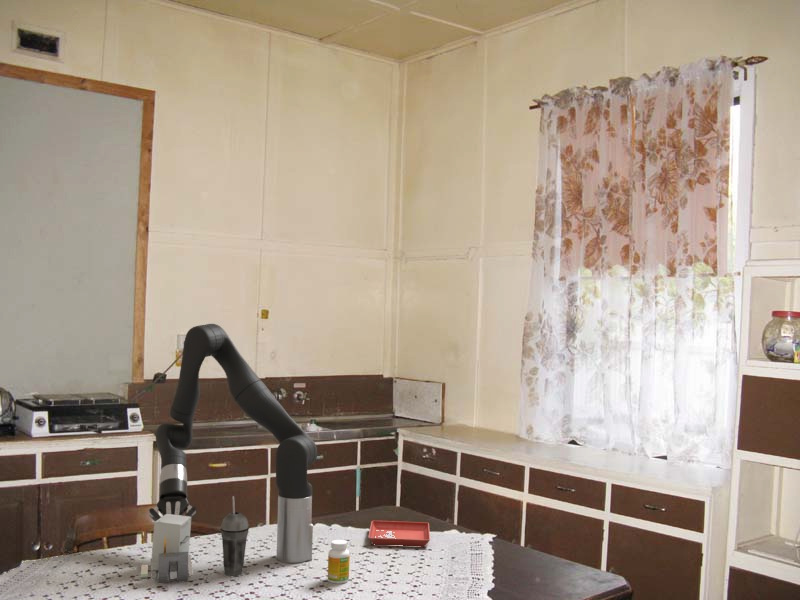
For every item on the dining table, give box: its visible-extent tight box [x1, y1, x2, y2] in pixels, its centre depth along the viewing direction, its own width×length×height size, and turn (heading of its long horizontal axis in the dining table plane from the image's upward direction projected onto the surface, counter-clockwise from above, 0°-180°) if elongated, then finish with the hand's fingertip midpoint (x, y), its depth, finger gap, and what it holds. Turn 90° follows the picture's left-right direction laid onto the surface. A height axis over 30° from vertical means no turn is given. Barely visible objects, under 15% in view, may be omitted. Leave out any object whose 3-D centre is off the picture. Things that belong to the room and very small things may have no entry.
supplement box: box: [150, 514, 192, 571], centre depth 200 cm, size 7×7×13 cm
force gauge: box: [140, 552, 194, 584], centre depth 199 cm, size 13×20×6 cm, turn 17°
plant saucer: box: [367, 520, 431, 548], centre depth 232 cm, size 18×18×3 cm
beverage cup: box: [220, 495, 250, 577], centre depth 198 cm, size 7×7×20 cm
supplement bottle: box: [327, 539, 351, 585], centre depth 195 cm, size 5×5×10 cm
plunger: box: [164, 538, 178, 580], centre depth 191 cm, size 5×10×8 cm, turn 17°
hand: (172, 540), depth 205 cm, fingers closed
